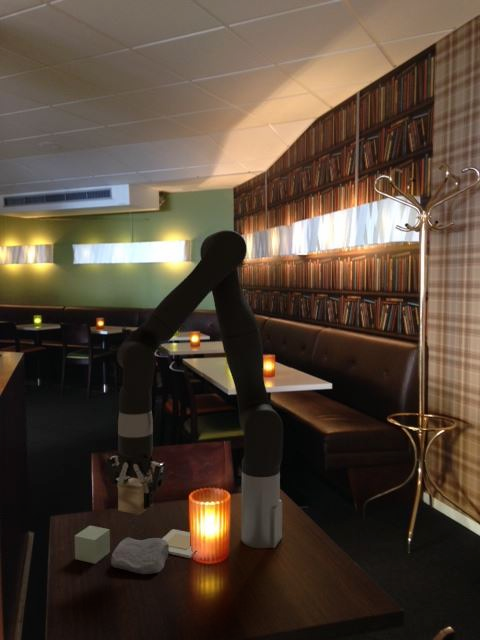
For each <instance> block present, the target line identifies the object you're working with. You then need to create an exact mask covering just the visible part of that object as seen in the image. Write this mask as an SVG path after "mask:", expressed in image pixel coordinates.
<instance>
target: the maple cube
mask: <svg viewBox="0 0 480 640" xmlns="http://www.w3.org/2000/svg"><path fill="white" fill-rule="evenodd" d="M144 493H145V492H144V487H143V486H142V484H140V482H139V479H138V478H136V477H130V478H129V480H128V481H126V482H124V483H123V484H121V485H119V486H118V487H117V500H118V501H117V502H118V503H117V507H118V508H117V510H118V511H119V512H125V513H130V514H134V515H138V516H139V515H140V516H141V514H143V513H144V512H145V511H147V510H148V509H144ZM151 507H153V505H151Z"/></svg>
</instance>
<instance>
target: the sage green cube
mask: <svg viewBox="0 0 480 640" xmlns="http://www.w3.org/2000/svg"><path fill="white" fill-rule="evenodd" d="M110 536H111V535H110V529H108V528H105V527H104V528H103V527H99V526H95V525H89V526H86V528H84V529H82V530H81V531H80V532H78V533H76V534H75V535H74V559H75V560H79V561H82V562H87V563H91V564H97V563H98V562H99V561H102V559H103V558H105V557H106V556H107V555H108V554H109V553H110V552H111V544H110V543H111V537H110Z"/></svg>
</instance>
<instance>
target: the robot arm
mask: <svg viewBox="0 0 480 640" xmlns="http://www.w3.org/2000/svg"><path fill="white" fill-rule="evenodd" d="M247 249H248V247H247V243H246V240H245V238H244V237H243V235H241V234H240V233H239V232H237V231H235V230H232V229H224V230H220V231H216V232H214V233H212V234H209V235H208V236H207V237H205V239H204V240H203V241H202V244H201V246H200V261H199V262H198V264H196V266H195V267H194V268H193V269H192V271H190V273H189V274H188V275H187V276H186V277H185V278H184V279H183V280H182V281H181V282H180V283H179V284H178V285H177V286H175V287H174V288H173V289H172V290H171V291H170V292H169V293H168V294H167V295H165V297H164V298H163V299H162V300H161V301H160V303H159V304H158V305H157V306H156V307H155V308H154V310H153V311H152V312H151V313H150V314H149V316H148V317H147V318H146V319H145V321H144V322H143V323H142V324H141V325H140V326H138V327H137V328H136V329H135V330H134V331H133V332H132V333H131V334H130V335H129V336H127V338H126V339H125V340H124V341H123V342H122V343H121V345H120V346H119V348H118V350H117V353H116V361H117V363H118V365H119V366H120V367H121V368H122V386H121V387H120V389H119V393H118V394H119V396H118V402H119V403H118V408H119V409H118V411H119V412H118V422H117V427H118V428H117V434H118V435H117V438H118V439H117V445H118V446H117V449H118V453H119V455H115V454H114V455H112V456H109V457H108V458H106V464H107V471H108V475H109V483H110V485H115V486H116V487H117V488H118V486H119V485H121V484H123V483H124V482H126V481H128V480H129V479H131V478H132V477H133V478H136V479H139V482H140V484H142V486H143V487H144V492H145V493H144V509H147V510H149V508H152V506H153V505H154V492H156V491H158V490H159V489H160V488H162V486H163V480H164V474H165V468H166V463H165V462H157V461H155V460H154V457H153V455H152V454H153V450H154V446H153V445H154V441H153V439H154V436H153V435H154V427H153V426H154V422H153V421H154V419H153V413H152V410H153V408H152V404H153V403H152V402H153V401H152V387H153V382H154V376H155V368H156V367H155V365H156V363H155V362H156V361H155V359H156V358H155V354H154V353H155V352H156V351H157V349H159V348H160V346H161V345H163V344H165V343H168V342H169V341H170V340H172V338H173V337H175V335H176V334H177V333H178V331H179V330H180V329H181V328H182V327H183V325H184V324H185V323H186V322H187V320H188V319H189V318H190V317H191V315H192V314H193V313H194V312H195V310H196V309H197V307H199V305H200V304H201V303H202V302H203V301H204V300H205V298H206V297H207V296H208V295H209V294H210V293H212V297H213V303H214V309H215V314H216V315H215V316H216V318H217V324H218V327H219V333H220V337H221V338H220V339H221V342H222V343H221V344H222V347H223V351H224V354H225V355H224V356H225V358H226V362H227V365H228V369H229V372H230V375H231V377H232V381H233V384H234V389H235V393H236V400H237V407H238V408H237V409H238V418H239V425H240V429H241V430H242V432H243V434H244V437H243V439H244V441H243V442H244V449H243V451H244V452H243V458H242V459H241V532H240V533H241V541H242V543H243V544H244V545H246V546H247V547H251V548H256V549H269V548H271V549H275V548H277V545H278V544H279V543H280V541H281V539H282V538H283V500H282V499H280V497H281V493H280V491H281V489H280V488H281V484H280V482H281V481H280V480H281V479H280V478H281V473H280V472H281V469H280V468H281V463H282V460H283V450H284V449H283V447H284V445H283V444H284V424H283V420H282V418H281V416H280V414H279V413H277V411H276V410H275V409H273V406H272V405H271V401H270V398H269V395H268V391H267V389H266V383H265V378H264V349H263V342H262V338H261V333H260V329H259V328H260V327H259V324H258V320H257V318H256V316H255V314H254V312H253V310H252V308H251V306H250V304H249V302H248V300H247V298H246V297H245V295H244V293H243V292H244V291H243V290H242V287H241V282H240V278H239V272H238V267H239V266H240V265H242V263H243V262H244V260H245V258H246V256H247ZM120 467H121V470H120ZM151 468H152V471H151ZM152 473H153V475H152ZM151 505H152V506H151Z"/></svg>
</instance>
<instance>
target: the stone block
mask: <svg viewBox="0 0 480 640" xmlns="http://www.w3.org/2000/svg"><path fill="white" fill-rule="evenodd" d="M168 551H169V545H168V543H167V542H166V540H163V539H162V538H161V537H153V538H152V537H151V538H149V537H148V538H146V539H142V540H140V539H134V538H133V537H129V536H128V537H124V538H123V540H121V541H120V542H119V543H118V545H117V546H116V548H115V549H114V550H113V552H112V554H111V559H110V560H111V561H110V563H111V564H110V565H111V566H112V567H113V568H115V569H121V570H124V571H125V570H126V571H128V572H132V573H136V574H141V575H150V574H158V573H160V572H161V571H162V570H163V569H164V567H165V564H166V560H167V559H168V556H169V554H168Z"/></svg>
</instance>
